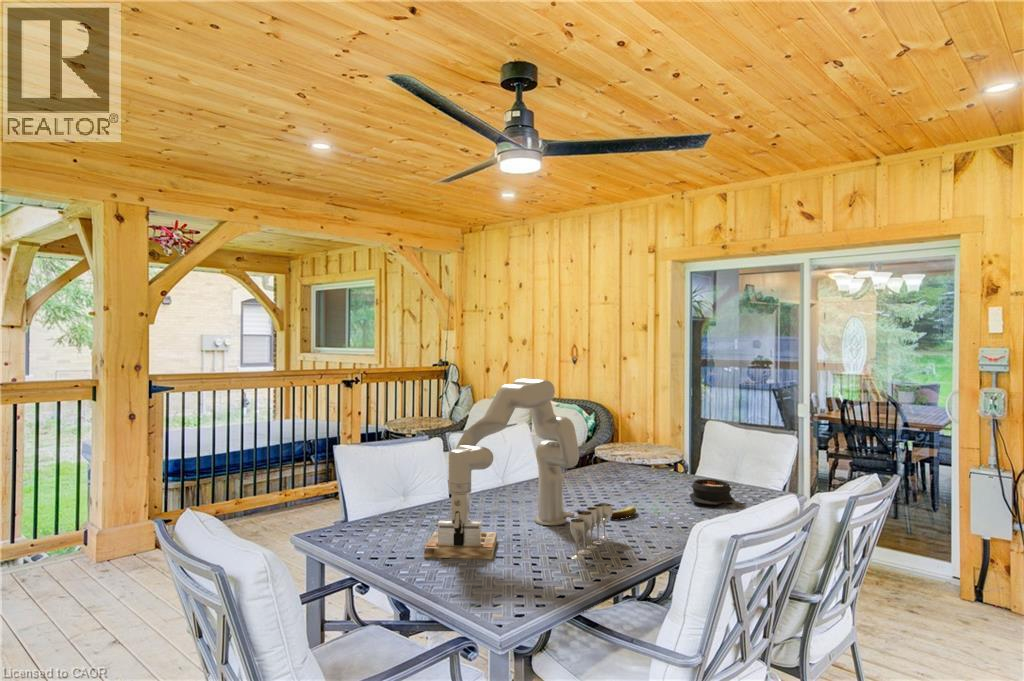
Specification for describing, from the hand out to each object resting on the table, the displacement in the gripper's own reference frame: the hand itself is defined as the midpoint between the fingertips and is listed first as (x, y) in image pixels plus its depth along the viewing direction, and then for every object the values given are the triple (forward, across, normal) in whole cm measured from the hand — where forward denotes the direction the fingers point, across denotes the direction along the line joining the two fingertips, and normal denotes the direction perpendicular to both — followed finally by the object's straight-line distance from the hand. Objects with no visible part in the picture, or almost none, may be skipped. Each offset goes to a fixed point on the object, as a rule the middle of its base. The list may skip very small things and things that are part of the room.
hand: (459, 542), depth 194 cm
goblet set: (+4, +10, -44) cm, 45 cm away
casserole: (+4, +75, -102) cm, 126 cm away
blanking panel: (+3, 0, 0) cm, 3 cm away
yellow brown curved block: (+5, +50, -60) cm, 78 cm away
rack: (+4, +6, 0) cm, 7 cm away
